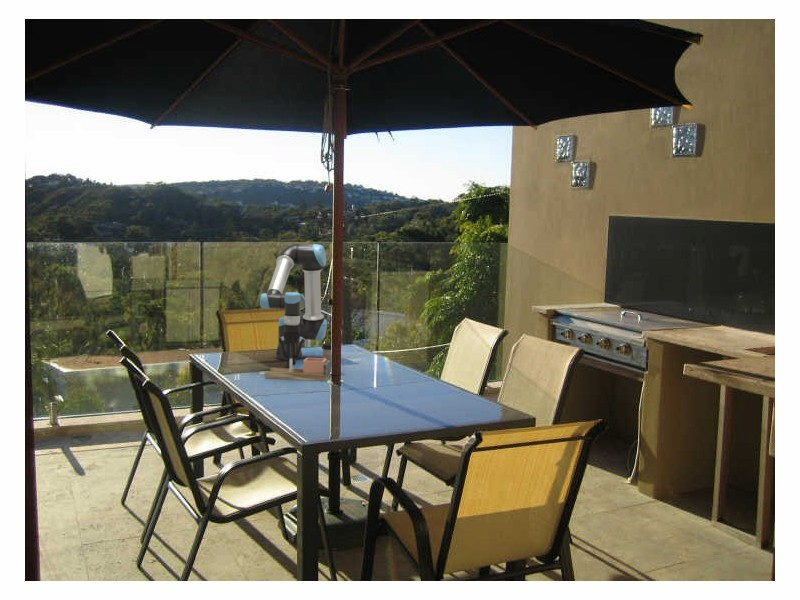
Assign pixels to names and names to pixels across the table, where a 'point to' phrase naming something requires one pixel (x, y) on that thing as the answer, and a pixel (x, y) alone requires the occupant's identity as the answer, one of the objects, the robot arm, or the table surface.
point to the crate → (314, 365)
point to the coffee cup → (327, 352)
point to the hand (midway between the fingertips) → (291, 371)
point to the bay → (298, 374)
